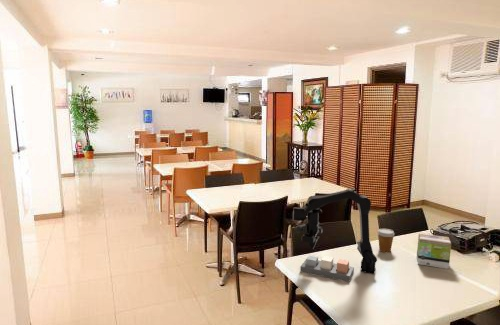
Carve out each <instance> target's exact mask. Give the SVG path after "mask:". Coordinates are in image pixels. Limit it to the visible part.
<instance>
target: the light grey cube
mask: <svg viewBox="0 0 500 325" xmlns="http://www.w3.org/2000/svg"><path fill="white" fill-rule="evenodd" d="M305 260H306V265H307V266H312V267H316V266H317V265H318V261H319V256H313V255H308V256H307V257H306V258H305Z"/></svg>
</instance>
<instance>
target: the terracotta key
mask: <svg viewBox="0 0 500 325" xmlns="http://www.w3.org/2000/svg"><path fill="white" fill-rule="evenodd" d="M336 264H337V271H338V272H343V273H348V271H349V266H350V261H349V260H346V259H342V258H339V259H338V260H337V262H336Z"/></svg>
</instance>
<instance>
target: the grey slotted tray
mask: <svg viewBox="0 0 500 325" xmlns="http://www.w3.org/2000/svg"><path fill="white" fill-rule="evenodd" d="M299 269H300V273H304V274H309V275H310V274H311V275H314V276H320V277H324V278H329V279H334V280H338V281H343V282H347V283H350V282H351V280H352V277H353V275H354V273H355V267H353V266H350V265H349V271H348V273H343V272H338V271H337V263H334V262H333V268H332V270H328V269H323V268H321V260H318V265H317V266H316V267H312V266H307V265H306V259H305V260H304V261H303V263H301V265H300V267H299Z"/></svg>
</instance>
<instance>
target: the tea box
mask: <svg viewBox="0 0 500 325" xmlns="http://www.w3.org/2000/svg"><path fill="white" fill-rule="evenodd" d="M417 237H418V238H417V240H418V241H417V247H416V248H417V249H416V261H417V265H422V266H429V267H434V268H440V269H444V270H445V269H446V270H449V268H450V267H449V266H450V262H451V261H450V260H451V251H452V250H451V249H452V242H451V240H450V237H449V236H442V235H441V236H440V235H433V234H424V233H418V236H417Z"/></svg>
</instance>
